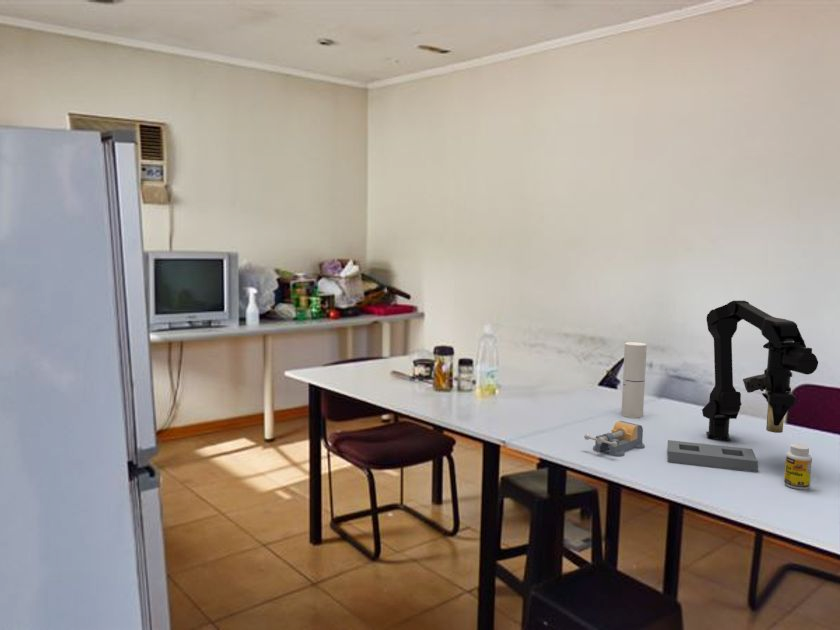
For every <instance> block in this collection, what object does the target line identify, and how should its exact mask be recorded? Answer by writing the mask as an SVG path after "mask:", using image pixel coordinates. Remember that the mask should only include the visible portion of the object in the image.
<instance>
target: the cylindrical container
mask: <svg viewBox="0 0 840 630" xmlns="http://www.w3.org/2000/svg"><path fill="white" fill-rule="evenodd" d="M647 348H648V344H647V343H644V342H639V341H638V342H637V341H634V342H633V341H632V342H631V341H627V342H625V343H624V352H623V353H624V354H623V356H624V357H623V371H622V372H623V373H622V374H623V375H622V393H621V394H622V395H621V396H622V397H621V411H620V413H621V416H622V417H625V418H629V419H640V418H643V417H644V408H645V407H644V404H645V388H646V386H645V385H646V367H647V366H646V364H647V351H648V349H647Z"/></svg>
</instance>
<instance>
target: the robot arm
mask: <svg viewBox="0 0 840 630" xmlns="http://www.w3.org/2000/svg"><path fill="white" fill-rule="evenodd" d="M742 320H744V321H746V322H747V323H748V324H750V325H751V326H754V327H755V328H756V329H759V330H760V332H761V335H762V336H763V337H764V338H765V339H766V340H767V342H766V343H765V344H763V345H762V347H763V348H764V349H767V350H768V353H767V365H766V366H767V367H766V368H765V369H764V370H763V373H762V374H757V375H753V376H748V377H746V378H742V383H743V385H744V388H745V391H746V393H748V394H749V393H754V392H756V391H759V390H760V392H764V391H765V393H761V395H762V397H764V399H765V401H766V402H767V404H768V403H769V404H770V405H771V406H772V414H773V422H774V425H776V426H778V425H779V424H780V422H781V421H782V419H783V418H784V417H785V416H786V414H787V413H788V411H789V410H790V409H791V407H793V406H794V407H796V406H797V397H795V395H794V394H793V393H792V388H791V385H790V384H791V378H793V372H794V373H799V374H803V375H811V374H813V373H814V372H815V371H817V369H818V366H819V360H818V358H817V356H816V355H815V354H814V353H813V348H812V347H807V346H806V343H805V342H806V341H805V340H804V339H803V336H802V334H801V332H800V330H799V328H798V324H797V323H796V322H795V321H792V320H790V319H785V318H779V317H775V316H772V315H770V314H768V313H767V312H765V311H764V310H761V309H759V308H758V307H756V306H754V305H753V304H750V302H749V301H746V300H732V301H729V302H727V304H724V305H721V306H718V307H715V309H711V310H710V311H709V312H708V313H707V315H706V325H707V330H708V333H710V335H711V337H712V338H713V355H714V357H713V358H714V361H713V362H714V386H713V388H712V389H711V392H710V393H709V400H708V403H707V404H706V405H705V406H704V407H703V408H701V411H702V416H703V418H706V419H708V431H705V432H706V437H707V439H709V440H710V439H711V440H718V441H719V440H721V441H729V442H730V441H731V440H732V439H731V435H730V433H729V432H730V422H731V421H730V420H732V419H734V420H736V419H738V418H737V417H738V415H739V412H740V410H741V406H742V404H743V403H742V400H741V398H742V394H741V392H740V391H737V390H736V388H735V387H734V379H733V377H734V376H733V375H734V374H733V373H734V372H733V344H732V342H733V341H732V339H733V337H734V336H735V334H736V333H737V329H738V323H739V322H741V321H742ZM784 419H785V418H784Z"/></svg>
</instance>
